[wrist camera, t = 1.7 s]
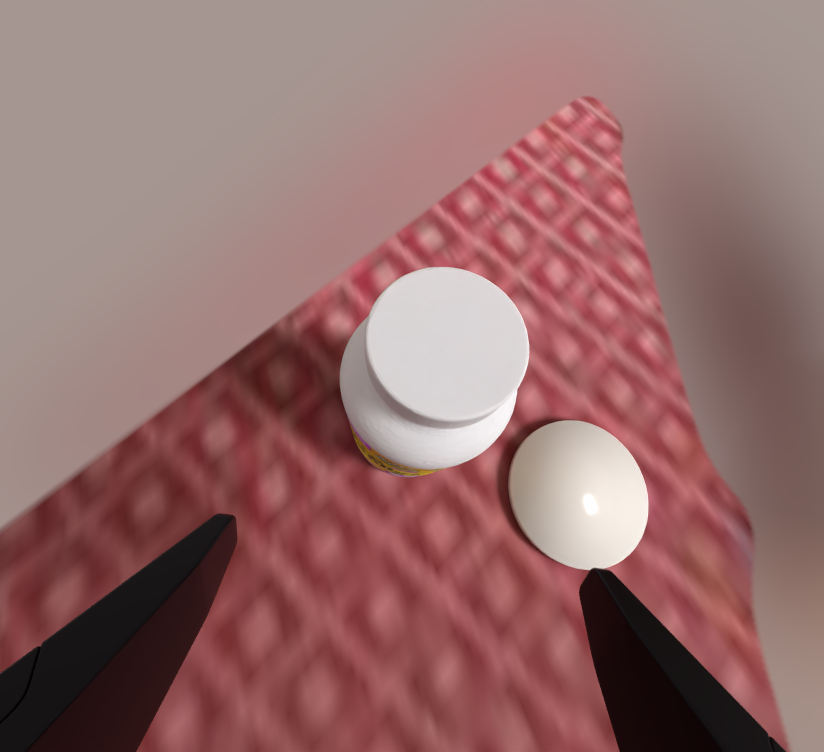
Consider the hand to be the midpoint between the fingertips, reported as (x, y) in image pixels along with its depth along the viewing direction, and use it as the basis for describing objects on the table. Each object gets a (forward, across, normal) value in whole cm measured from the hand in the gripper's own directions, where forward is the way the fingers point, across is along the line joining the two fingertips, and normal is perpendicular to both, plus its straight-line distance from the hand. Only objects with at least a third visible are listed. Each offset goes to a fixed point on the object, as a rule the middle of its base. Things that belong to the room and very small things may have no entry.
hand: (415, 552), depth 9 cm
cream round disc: (+11, -11, +6) cm, 16 cm away
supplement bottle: (+12, 0, +5) cm, 13 cm away
